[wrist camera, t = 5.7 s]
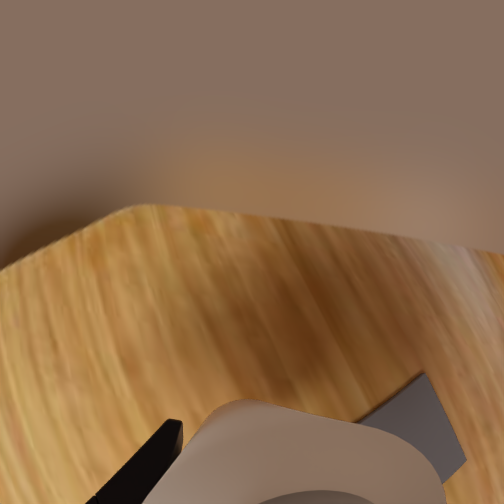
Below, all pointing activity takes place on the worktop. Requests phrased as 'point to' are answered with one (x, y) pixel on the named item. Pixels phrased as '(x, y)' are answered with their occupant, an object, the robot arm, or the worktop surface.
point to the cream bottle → (294, 462)
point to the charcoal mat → (421, 425)
